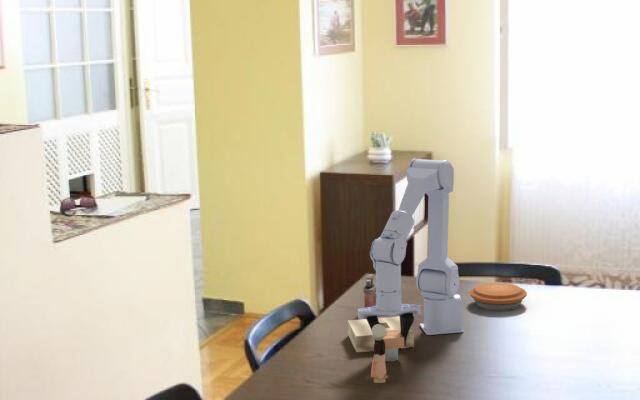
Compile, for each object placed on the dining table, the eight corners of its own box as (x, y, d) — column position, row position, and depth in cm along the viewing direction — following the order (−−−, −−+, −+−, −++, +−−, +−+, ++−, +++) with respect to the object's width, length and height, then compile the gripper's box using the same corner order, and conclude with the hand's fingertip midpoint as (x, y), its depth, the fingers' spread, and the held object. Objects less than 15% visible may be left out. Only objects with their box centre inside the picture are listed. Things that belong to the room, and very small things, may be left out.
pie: (534, 300, 248) (534, 283, 247) (514, 317, 235) (514, 298, 234) (482, 293, 256) (482, 276, 255) (460, 309, 243) (460, 291, 242)
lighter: (374, 317, 239) (373, 281, 237) (362, 316, 239) (361, 280, 238) (378, 307, 247) (378, 272, 245) (366, 307, 247) (365, 272, 245)
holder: (402, 331, 227) (402, 316, 226) (414, 347, 215) (413, 331, 215) (348, 335, 225) (347, 320, 225) (356, 352, 214) (356, 336, 213)
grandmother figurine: (371, 373, 200) (370, 319, 198) (389, 373, 200) (387, 319, 197) (370, 387, 193) (368, 330, 190) (388, 387, 192) (386, 330, 190)
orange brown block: (399, 353, 212) (398, 329, 210) (404, 362, 206) (404, 337, 205) (376, 355, 211) (376, 331, 210) (381, 364, 206) (380, 339, 205)
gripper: (360, 296, 201) (362, 354, 203) (424, 291, 202) (425, 348, 205) (355, 287, 208) (357, 343, 210) (416, 283, 209) (417, 338, 212)
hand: (390, 345), depth 208 cm, fingers closed on orange brown block, 5 cm apart
